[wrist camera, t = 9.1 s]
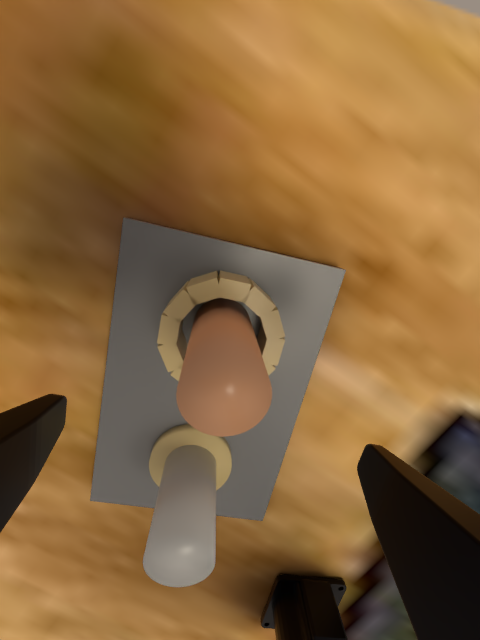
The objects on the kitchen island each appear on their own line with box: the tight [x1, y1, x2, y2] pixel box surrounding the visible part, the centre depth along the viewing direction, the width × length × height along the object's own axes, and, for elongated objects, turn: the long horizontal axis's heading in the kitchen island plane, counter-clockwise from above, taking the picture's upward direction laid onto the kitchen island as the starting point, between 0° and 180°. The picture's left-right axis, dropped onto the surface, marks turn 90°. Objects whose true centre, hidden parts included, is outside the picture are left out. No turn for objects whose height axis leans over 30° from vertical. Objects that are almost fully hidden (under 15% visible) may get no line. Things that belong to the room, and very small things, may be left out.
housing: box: [90, 218, 346, 587], centre depth 17 cm, size 20×13×8 cm, turn 167°
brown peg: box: [176, 298, 272, 437], centre depth 15 cm, size 4×4×8 cm
